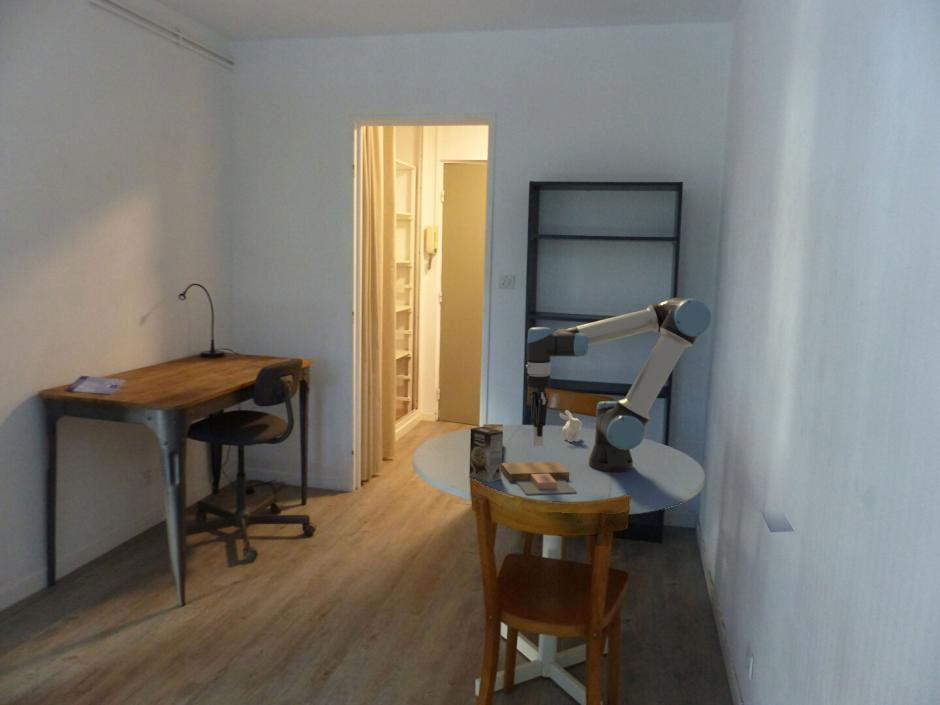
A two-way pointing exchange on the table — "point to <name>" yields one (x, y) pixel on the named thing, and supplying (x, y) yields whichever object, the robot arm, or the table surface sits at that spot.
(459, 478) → the table surface
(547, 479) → the salmon orange flat block
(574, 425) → the rabbit
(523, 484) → the mat
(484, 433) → the coffee box
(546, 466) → the brown wooden board
